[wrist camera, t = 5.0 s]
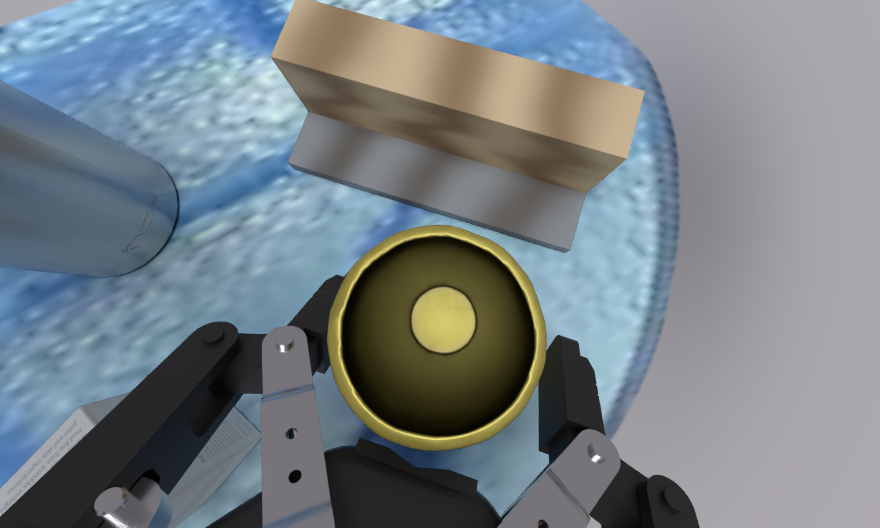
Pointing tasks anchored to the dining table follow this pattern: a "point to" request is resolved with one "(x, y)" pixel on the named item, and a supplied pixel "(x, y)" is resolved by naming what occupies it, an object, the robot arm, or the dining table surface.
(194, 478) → the skincare box
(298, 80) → the ridge
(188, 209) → the dining table surface
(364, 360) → the vase
